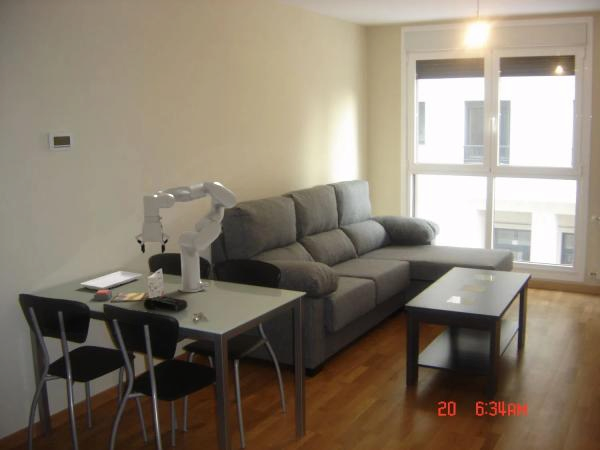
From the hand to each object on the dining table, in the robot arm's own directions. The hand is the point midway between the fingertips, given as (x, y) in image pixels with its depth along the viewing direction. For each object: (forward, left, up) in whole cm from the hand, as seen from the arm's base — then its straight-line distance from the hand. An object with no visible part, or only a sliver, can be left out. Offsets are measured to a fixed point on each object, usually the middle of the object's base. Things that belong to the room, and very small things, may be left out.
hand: (153, 252), depth 335 cm
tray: (+30, -29, -24) cm, 48 cm away
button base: (+27, 0, -24) cm, 36 cm away
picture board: (+13, 0, -24) cm, 27 cm away
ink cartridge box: (0, 0, -24) cm, 24 cm away
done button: (+27, 0, -22) cm, 35 cm away
